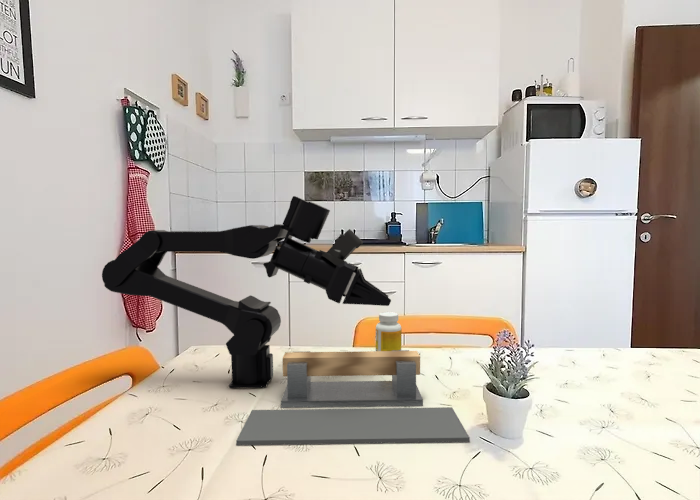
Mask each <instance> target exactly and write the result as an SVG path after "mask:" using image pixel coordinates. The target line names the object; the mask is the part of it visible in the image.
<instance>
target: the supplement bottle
mask: <svg viewBox="0 0 700 500" xmlns="http://www.w3.org/2000/svg"><path fill="white" fill-rule="evenodd" d="M378 321H379V322H377V324H376V326H375V351H392V350H402V326H401V324H400V323H399V322H398V321H399V313H397V312H393V311H384V312H380V313H378Z"/></svg>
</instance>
